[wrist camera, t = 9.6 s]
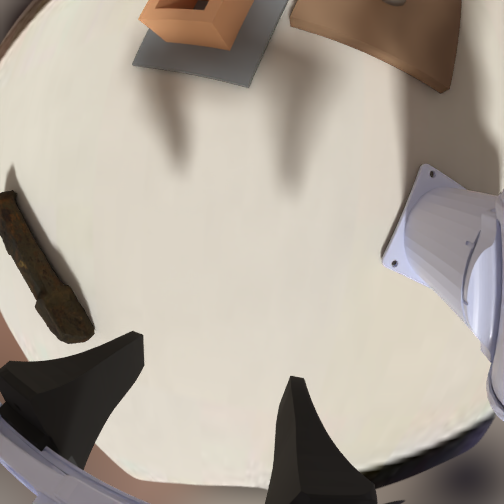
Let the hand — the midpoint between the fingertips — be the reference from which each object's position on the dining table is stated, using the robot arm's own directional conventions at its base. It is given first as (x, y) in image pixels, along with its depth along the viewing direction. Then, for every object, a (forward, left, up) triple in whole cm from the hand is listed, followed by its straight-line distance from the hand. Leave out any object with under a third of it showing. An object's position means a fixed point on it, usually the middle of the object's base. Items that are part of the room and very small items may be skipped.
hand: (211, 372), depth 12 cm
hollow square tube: (+10, -19, -9) cm, 23 cm away
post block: (-2, -26, -9) cm, 28 cm away
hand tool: (+21, +6, -10) cm, 24 cm away
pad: (+10, -19, -9) cm, 23 cm away
